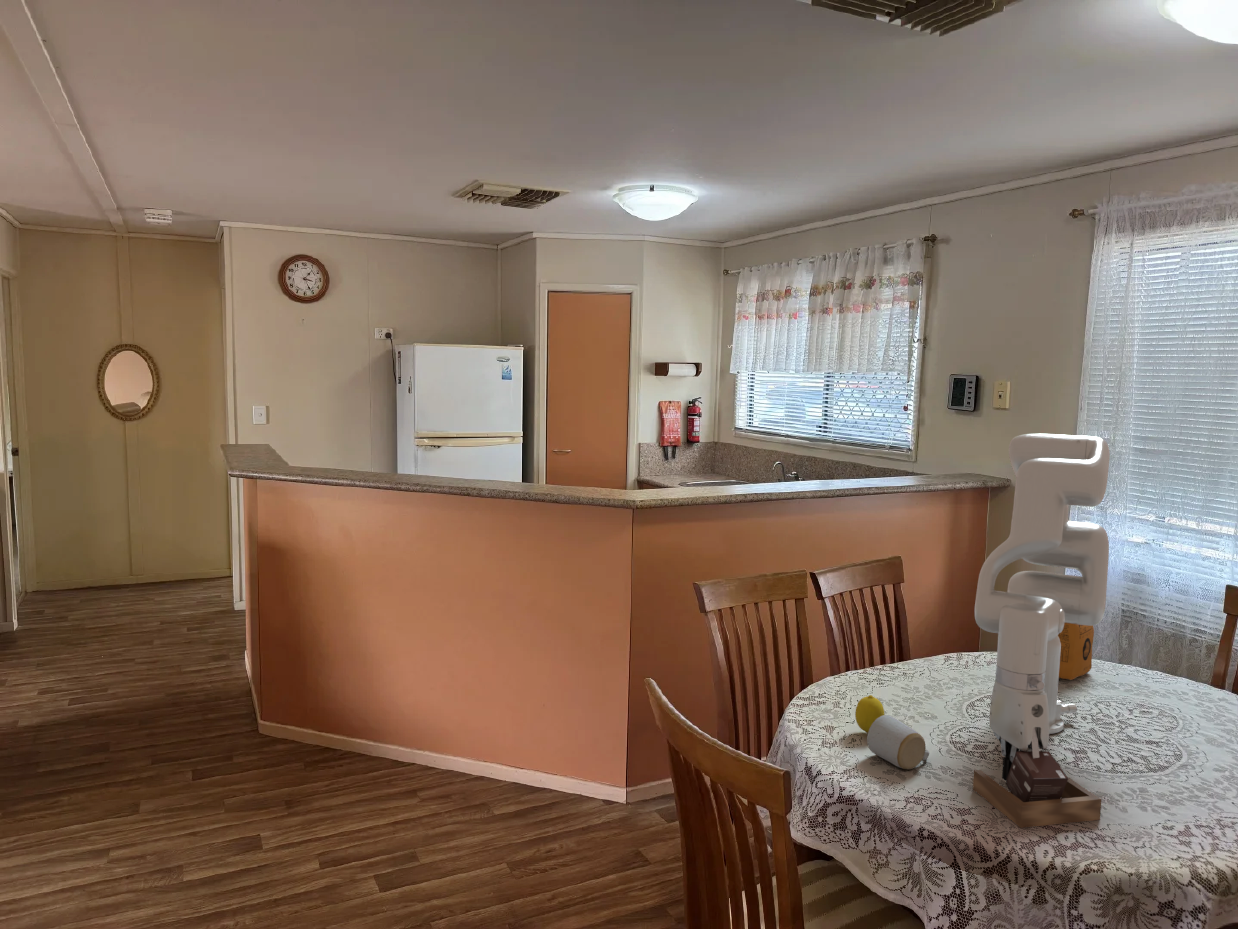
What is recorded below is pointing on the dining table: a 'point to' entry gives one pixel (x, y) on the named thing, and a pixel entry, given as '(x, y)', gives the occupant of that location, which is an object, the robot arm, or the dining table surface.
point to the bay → (1040, 804)
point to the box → (1036, 777)
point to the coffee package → (1075, 650)
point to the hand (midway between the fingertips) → (1013, 780)
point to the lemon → (868, 712)
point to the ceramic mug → (896, 742)
